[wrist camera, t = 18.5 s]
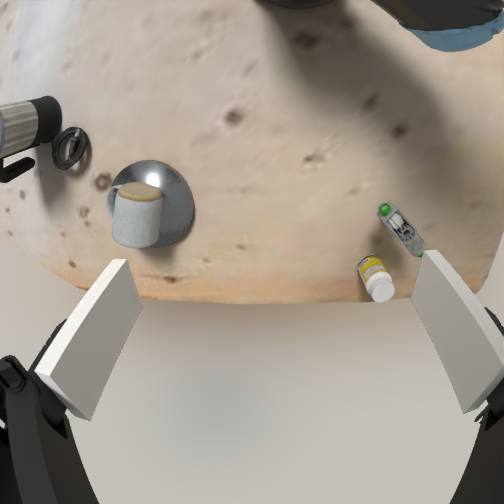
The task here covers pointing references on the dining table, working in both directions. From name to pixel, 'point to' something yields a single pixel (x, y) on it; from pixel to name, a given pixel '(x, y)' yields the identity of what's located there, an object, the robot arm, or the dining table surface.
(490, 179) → the dining table surface
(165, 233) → the plate
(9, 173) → the milk frother
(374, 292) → the supplement bottle
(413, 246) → the mechanical component
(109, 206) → the ceramic mug
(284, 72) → the dining table surface
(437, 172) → the dining table surface
